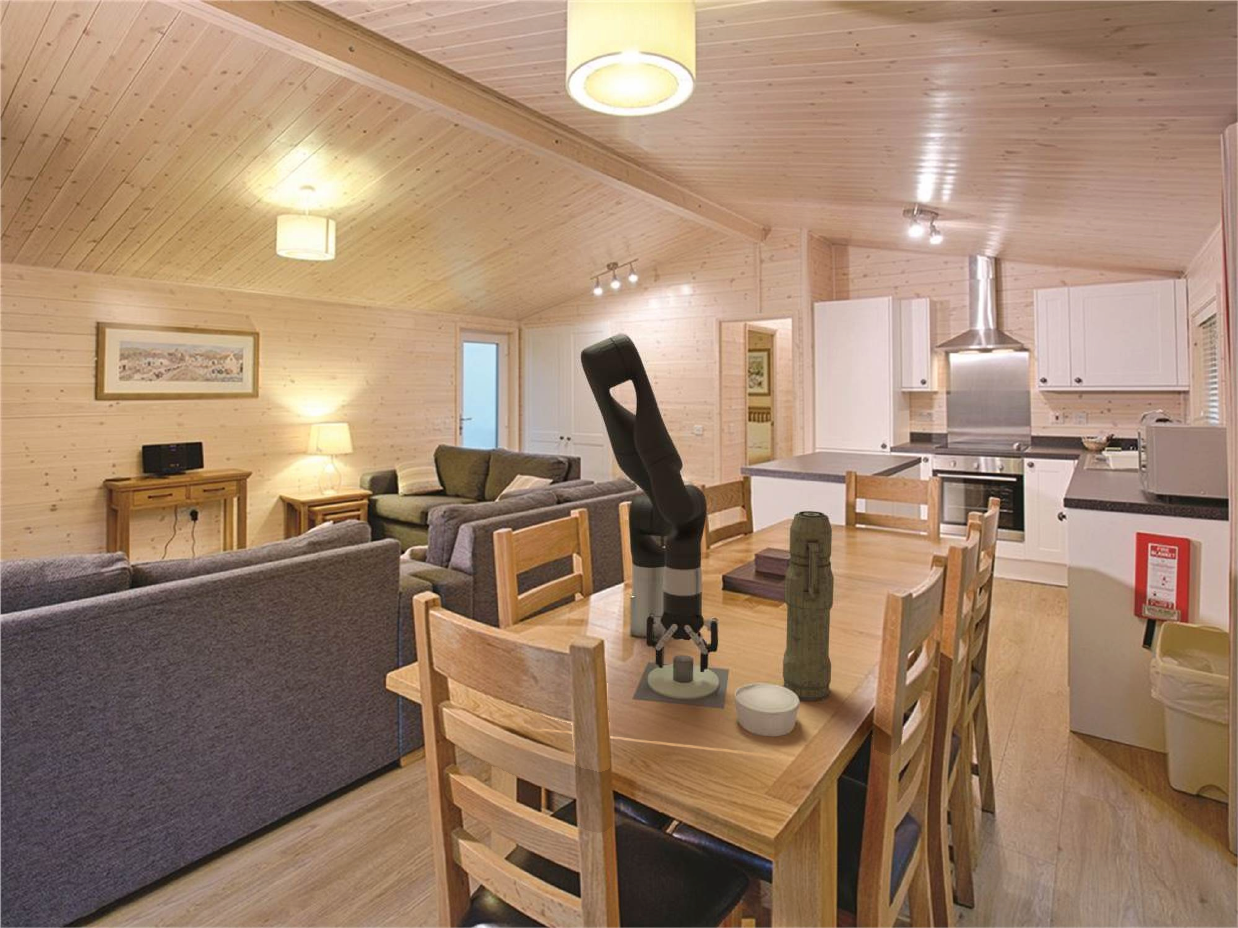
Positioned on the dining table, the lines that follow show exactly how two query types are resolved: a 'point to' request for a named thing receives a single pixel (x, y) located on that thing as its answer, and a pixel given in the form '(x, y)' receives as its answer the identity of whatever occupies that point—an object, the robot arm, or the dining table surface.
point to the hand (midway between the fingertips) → (681, 668)
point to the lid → (683, 680)
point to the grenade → (808, 607)
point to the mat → (711, 701)
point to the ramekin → (766, 709)
